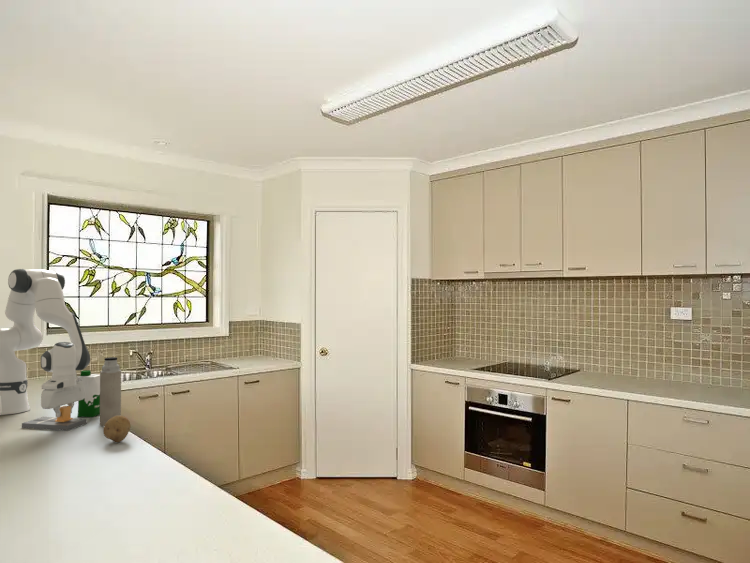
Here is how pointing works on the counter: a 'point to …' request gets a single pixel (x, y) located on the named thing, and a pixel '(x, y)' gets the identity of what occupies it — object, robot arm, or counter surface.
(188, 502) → the counter surface
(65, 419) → the fader knob
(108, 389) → the thermos bottle
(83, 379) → the milk carton
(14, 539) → the counter surface
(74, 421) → the slider board
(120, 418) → the natural sponge
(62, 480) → the counter surface
